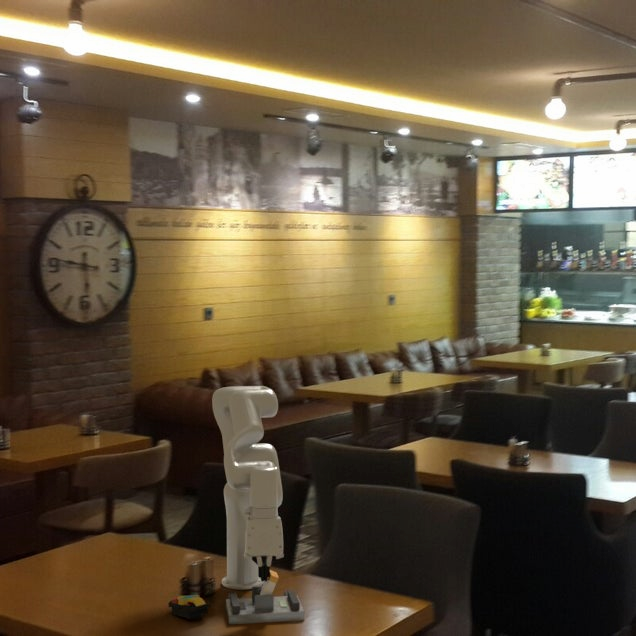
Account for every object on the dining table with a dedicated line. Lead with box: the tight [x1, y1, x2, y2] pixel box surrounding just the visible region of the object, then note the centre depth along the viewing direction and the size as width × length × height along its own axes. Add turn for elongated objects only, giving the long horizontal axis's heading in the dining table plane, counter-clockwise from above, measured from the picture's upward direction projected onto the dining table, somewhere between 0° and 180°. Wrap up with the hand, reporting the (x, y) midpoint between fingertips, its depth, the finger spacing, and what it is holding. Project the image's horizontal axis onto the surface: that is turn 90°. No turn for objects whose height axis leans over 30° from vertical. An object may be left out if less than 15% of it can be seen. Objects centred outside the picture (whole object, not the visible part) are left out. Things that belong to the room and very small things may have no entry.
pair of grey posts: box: [227, 589, 300, 613], centre depth 264 cm, size 18×18×4 cm
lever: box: [260, 569, 280, 595], centre depth 260 cm, size 6×2×9 cm, turn 9°
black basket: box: [167, 594, 212, 621], centre depth 258 cm, size 6×13×6 cm, turn 42°
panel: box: [225, 585, 305, 625], centre depth 260 cm, size 13×20×6 cm, turn 100°
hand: (263, 579), depth 259 cm, fingers closed
